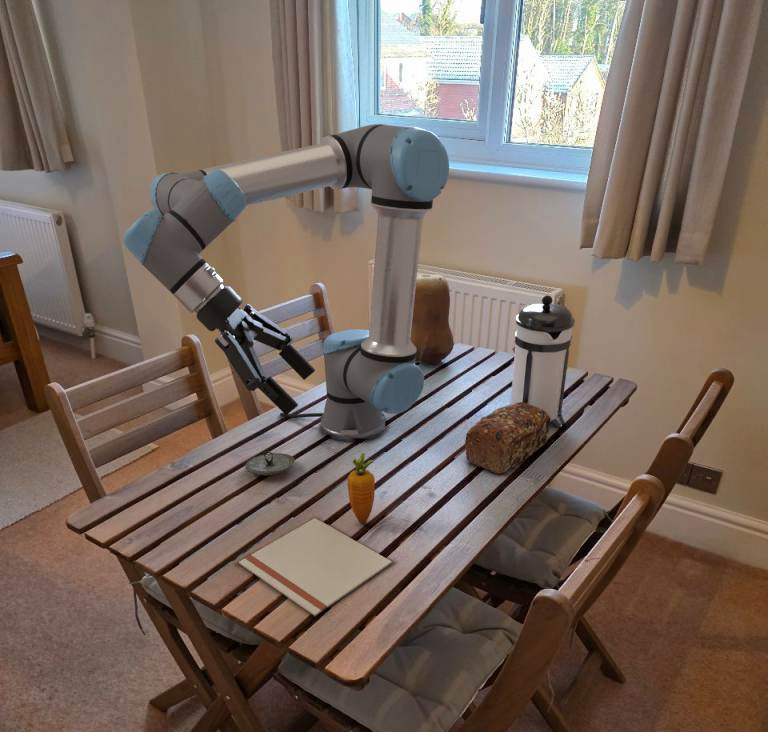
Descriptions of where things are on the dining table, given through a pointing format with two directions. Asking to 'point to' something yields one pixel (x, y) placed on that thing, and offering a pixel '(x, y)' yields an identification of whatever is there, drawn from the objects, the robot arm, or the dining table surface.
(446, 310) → the butternut squash
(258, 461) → the lid
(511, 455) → the bread
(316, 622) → the dining table surface
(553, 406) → the coffee press
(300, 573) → the napkin
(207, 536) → the dining table surface
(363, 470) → the carrot
